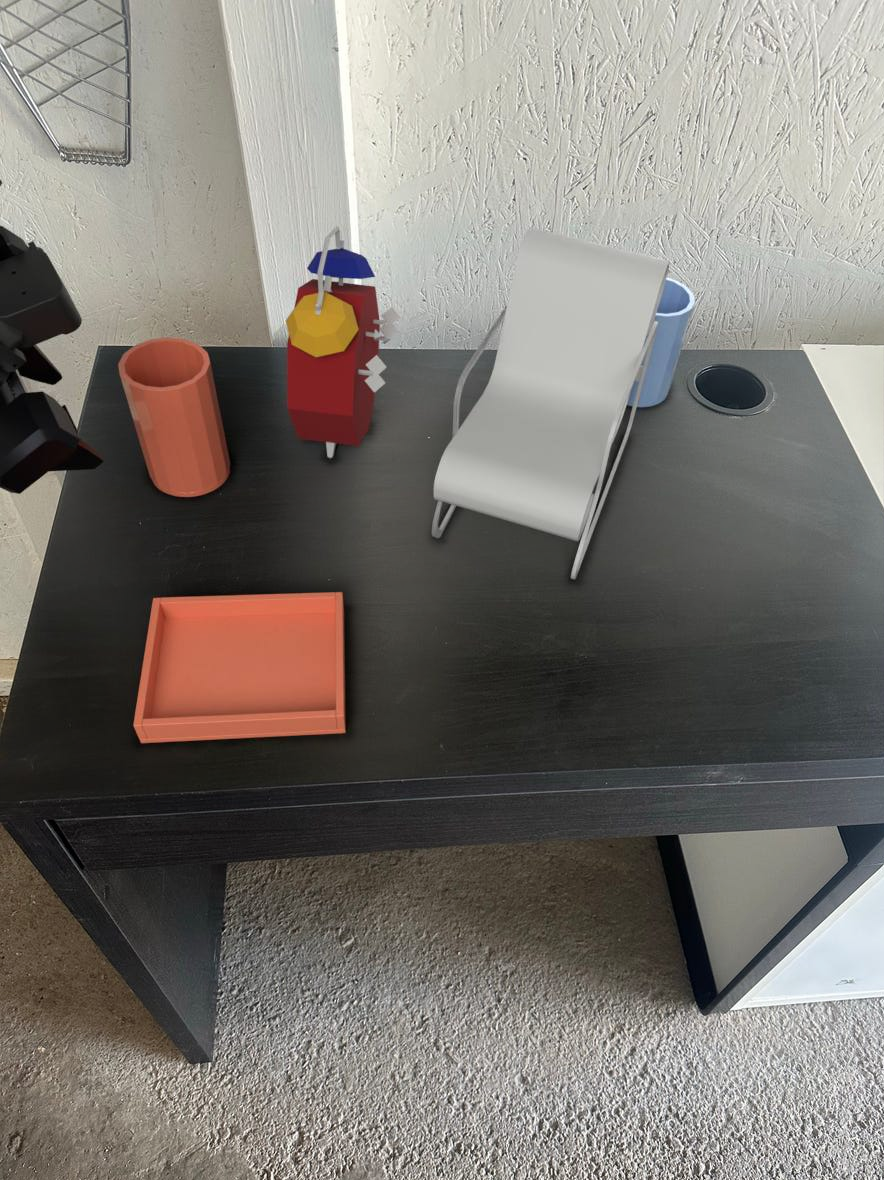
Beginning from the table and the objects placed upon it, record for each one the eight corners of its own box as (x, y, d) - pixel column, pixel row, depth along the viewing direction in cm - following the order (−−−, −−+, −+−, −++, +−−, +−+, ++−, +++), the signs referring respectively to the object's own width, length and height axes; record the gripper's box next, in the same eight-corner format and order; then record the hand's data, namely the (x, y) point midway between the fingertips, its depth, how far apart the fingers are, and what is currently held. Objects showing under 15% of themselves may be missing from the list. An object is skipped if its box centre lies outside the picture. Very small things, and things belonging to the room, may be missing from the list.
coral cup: (176, 508, 81) (146, 401, 72) (135, 465, 84) (102, 357, 75) (245, 475, 85) (226, 368, 75) (204, 434, 88) (180, 327, 78)
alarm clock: (324, 377, 94) (309, 188, 79) (404, 387, 94) (405, 200, 79) (292, 470, 85) (269, 278, 70) (381, 481, 85) (377, 291, 70)
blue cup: (637, 416, 94) (661, 324, 86) (587, 381, 97) (606, 289, 89) (681, 390, 98) (709, 299, 89) (632, 357, 101) (654, 267, 92)
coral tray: (140, 743, 66) (132, 725, 64) (159, 616, 74) (153, 597, 72) (345, 733, 68) (343, 715, 66) (344, 610, 75) (342, 591, 73)
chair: (631, 429, 93) (678, 250, 77) (569, 597, 78) (611, 417, 63) (510, 396, 95) (532, 215, 79) (427, 553, 80) (433, 369, 65)
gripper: (46, 333, 51) (204, 446, 65) (-51, 137, 57) (113, 279, 72) (-96, 448, 52) (89, 533, 67) (-175, 244, 59) (10, 362, 73)
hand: (77, 421), depth 70 cm, fingers open, 9 cm apart
